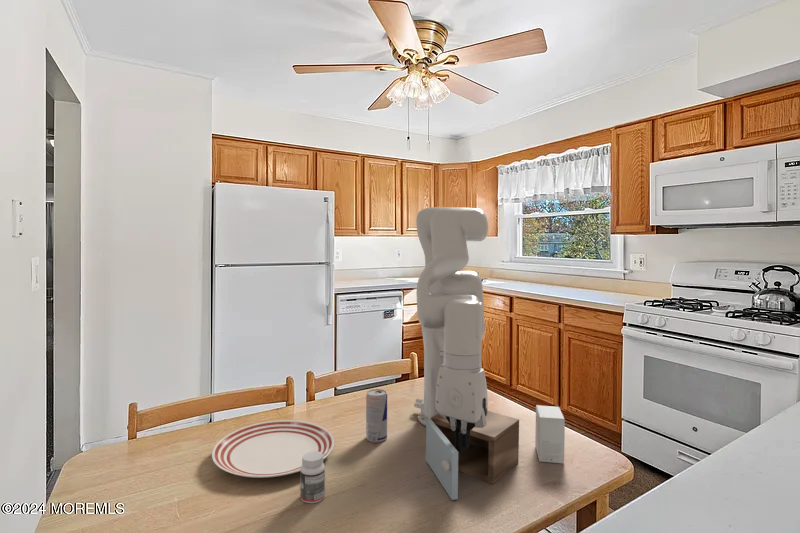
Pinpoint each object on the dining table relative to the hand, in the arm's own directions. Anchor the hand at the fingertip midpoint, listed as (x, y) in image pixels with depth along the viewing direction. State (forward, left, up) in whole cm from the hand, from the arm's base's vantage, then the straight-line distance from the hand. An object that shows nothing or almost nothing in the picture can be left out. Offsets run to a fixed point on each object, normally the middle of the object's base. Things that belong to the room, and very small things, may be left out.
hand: (461, 449), depth 89 cm
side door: (-5, -1, -8) cm, 9 cm away
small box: (+9, +25, -8) cm, 28 cm away
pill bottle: (-20, -22, -8) cm, 31 cm away
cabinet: (-3, +11, -8) cm, 14 cm away
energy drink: (-28, +5, -8) cm, 30 cm away
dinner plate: (-40, -17, -8) cm, 45 cm away
